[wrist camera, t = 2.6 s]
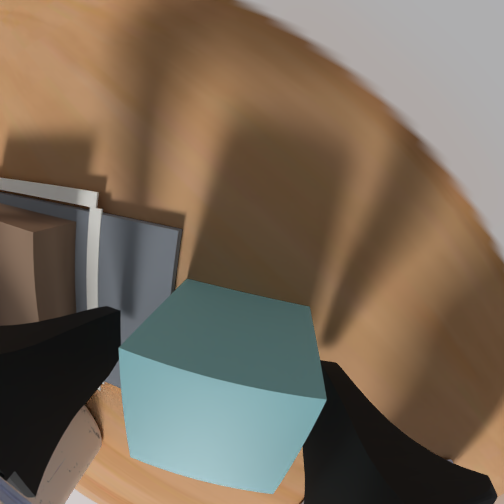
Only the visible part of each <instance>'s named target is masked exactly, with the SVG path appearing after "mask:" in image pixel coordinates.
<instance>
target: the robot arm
mask: <svg viewBox="0 0 504 504" xmlns="http://www.w3.org/2000/svg"><path fill="white" fill-rule="evenodd" d="M120 346H121V311H120V310H117V309H114V308H112V307H109V306H103V307H98V308H93V309H89V310H85V311H81V312H77V313H73V314H69V315H66V316H62V317H57V318H53V319H48V320H43V321H38V322H33V323H26V324H18V325H3V326H0V477H2V478H3V479H4V480H5V481H7V482H8V483H9V484H11V485H12V486H13V487H14V488H16V489H17V490H18V491H19V492H21V493H22V494H23V495H24V496H26V497H28V498H33V497H36V494H37V491H38V488H39V485H40V482H41V480H42V477H43V474H44V472H45V470H46V467H47V465H48V463H49V461H50V459H51V456H52V454H53V452H54V450H55V449H56V447H57V445H58V443H59V441H60V439H61V437H62V436H63V434H64V432H65V431H66V429H67V428H68V426H69V424H70V423H71V421H72V420H73V418H74V417H75V415H76V414H77V413H78V411H79V410H80V409H81V408H82V407H83V406H84V404H85V403H86V402H87V401H88V400H89V398H90V397H91V396H92V395H93V394H94V393H95V391H96V390H97V389H98V388H99V387H100V386H101V384H102V383H103V382H104V381H105V380H106V378H107V377H108V376H109V375H110V373H111V372H112V370H113V369H114V367H115V365H116V364H117V362H118V360H119V347H120ZM320 363H321V369H322V374H323V380H324V386H325V392H326V398H327V400H326V402H325V404H324V406H323V408H322V410H321V412H320V414H319V416H318V418H317V420H316V422H315V424H314V426H313V428H312V430H311V432H310V434H309V435H308V437H307V439H306V441H305V443H304V444H303V457H304V470H305V495H304V501H303V502H302V503H301V504H494V502H495V501H496V499H497V494H496V491H495V489H494V487H493V485H492V483H491V481H490V478H489V477H488V476H487V475H484V474H481V473H478V472H475V471H472V470H469V469H466V468H463V467H461V466H458V465H456V464H454V463H453V461H452V460H451V459H449V460H445V459H443V458H441V457H440V456H438V455H436V454H434V453H432V452H431V451H429V450H427V449H426V448H424V447H423V446H421V445H420V444H418V443H417V442H415V441H414V440H412V439H411V438H409V437H408V436H407V435H406V434H404V433H403V432H402V431H401V430H399V429H398V428H397V427H396V426H395V425H393V424H392V423H391V422H390V421H389V420H388V419H387V418H386V417H385V416H384V415H383V414H382V413H381V412H380V411H379V410H378V409H377V408H376V407H375V406H374V405H373V404H372V403H371V402H370V401H369V400H368V399H367V398H366V397H365V395H364V394H363V393H362V392H361V391H360V390H359V389H358V387H357V386H356V385H355V384H354V383H353V381H352V380H351V379H350V378H349V377H348V375H347V374H346V373H345V372H344V371H343V370H342V368H341V367H340V366H339V365H338V364H337V363H334V362H328V361H321V360H320ZM4 480H2V479H1V478H0V501H1V502H3V503H4V504H32V503H31V502H30V501H28V500H27V499H26V498H24V497H23V496H22V495H20V494H19V493H18V492H17V491H15V490H14V489H13V488H12V487H11V486H9V485H8V484H7V483H6V482H5V481H4Z"/></svg>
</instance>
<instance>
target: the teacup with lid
mask: <svg viewBox="0 0 504 504" xmlns="http://www.w3.org/2000/svg"><path fill="white" fill-rule="evenodd" d="M101 445H102V438H101V433H100V430H99V428H98V425H97V423H96V421H95V420H94V418H93V416H92V415H91V413H90V412H89V410H88V409H87V407H86V406H85V405H84V406H83V407H82V408H81V409H80V410H79V411H78V413H77V414H76V415H75V417H74V418H73V420H72V421H71V423H70V424H69V426H68V428H67V429H66V431H65V432H64V434H63V436H62V437H61V439H60V441H59V443H58V445H57V447H56V449H55V450H54V452H53V454H52V456H51V459H50V461H49V463H48V465H47V467H46V470H45V472H44V474H43V477H42V480H41V482H40V485H39V488H38V491H37V494H36V497H33V498H28V497H26V496H24V495H23V494H22V493H21V492H19V491H18V490H17V489H16V488H14V487H13V486H12V485H11V484H9V483H8V482H7V481H5V480H4V479H3V478H2V477H0V478H1V479H2V480H4V481H5V482H6V483H7V484H8V485H9V486H11V487H12V488H13V489H14V490H15V491H17V492H18V493H19V494H20V495H22V496H23V497H24V498H26V499H27V500H28V501H30V502H31V503H32V504H65V502H66V500H67V499H68V497H69V496H70V494H71V493H72V491H73V490H74V488H75V487H76V485H77V483H78V482H79V480H80V479H81V477H82V476H83V474H84V473H85V471H86V470H87V468H88V467H89V465H90V464H91V462H92V461H93V459H94V457H95V456H96V454H97V453H98V451H99V450H100V448H101ZM0 504H4V503H3V502H1V501H0Z"/></svg>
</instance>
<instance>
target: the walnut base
mask: <svg viewBox="0 0 504 504" xmlns="http://www.w3.org/2000/svg"><path fill="white" fill-rule="evenodd" d="M75 238H76V222H75V221H71V220H67V219H63V218H59V217H54V216H50V215H46V214H42V213H38V212H34V211H30V210H26V209H22V208H18V207H14V206H10V205H6V204H2V203H0V326H3V325H18V324H26V323H33V322H38V321H43V320H48V319H53V318H57V317H62V316H66V315H69V314H73V313H76V295H75Z"/></svg>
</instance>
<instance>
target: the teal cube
mask: <svg viewBox="0 0 504 504" xmlns="http://www.w3.org/2000/svg"><path fill="white" fill-rule="evenodd" d="M119 366H120V380H121V392H122V402H123V411H124V419H125V426H126V433H127V440H128V446H129V451H130V457H132V458H134V459H137V460H139V461H142V462H144V463H147V464H150V465H152V466H155V467H158V468H161V469H164V470H167V471H170V472H173V473H176V474H180V475H183V476H186V477H190V478H193V479H197V480H201V481H205V482H209V483H213V484H217V485H222V486H227V487H232V488H237V489H242V490H248V491H255V492H262V493H269V494H273V493H274V492H275V490H276V489H277V487H278V486H279V484H280V483H281V481H282V480H283V478H284V476H285V475H286V473H287V472H288V470H289V468H290V467H291V465H292V463H293V462H294V460H295V458H296V457H297V455H298V453H299V451H300V450H301V448H302V446H303V444H304V443H305V441H306V439H307V437H308V435H309V434H310V432H311V430H312V428H313V426H314V424H315V422H316V420H317V418H318V416H319V414H320V412H321V410H322V408H323V406H324V404H325V402H326V400H327V398H326V392H325V386H324V380H323V374H322V369H321V363H320V357H319V352H318V347H317V341H316V336H315V331H314V326H313V321H312V316H311V311H310V307H309V306H304V305H300V304H295V303H290V302H285V301H281V300H276V299H271V298H267V297H262V296H258V295H254V294H249V293H245V292H240V291H236V290H232V289H228V288H223V287H219V286H215V285H211V284H207V283H203V282H199V281H195V280H191V279H186V280H185V281H184V282H183V283H182V284H181V285H180V286H179V287H178V288H177V289H176V290H175V291H174V292H173V293H172V294H171V295H170V296H169V297H168V298H167V299H166V300H165V301H164V302H163V303H162V304H161V305H160V306H159V307H158V308H157V309H156V310H155V311H154V312H153V313H152V314H151V315H150V316H149V317H148V318H147V319H146V320H145V321H144V322H143V323H142V324H141V325H140V326H139V327H138V328H137V329H136V330H135V331H134V332H133V333H132V334H131V335H130V336H129V337H128V338H127V340H126V341H125V342H124V343H123V344H122V345H121V346H120V347H119Z"/></svg>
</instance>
